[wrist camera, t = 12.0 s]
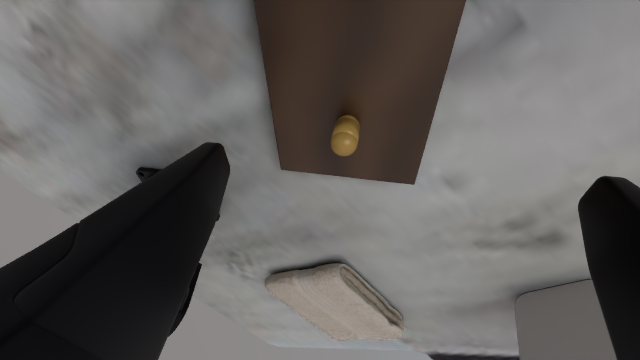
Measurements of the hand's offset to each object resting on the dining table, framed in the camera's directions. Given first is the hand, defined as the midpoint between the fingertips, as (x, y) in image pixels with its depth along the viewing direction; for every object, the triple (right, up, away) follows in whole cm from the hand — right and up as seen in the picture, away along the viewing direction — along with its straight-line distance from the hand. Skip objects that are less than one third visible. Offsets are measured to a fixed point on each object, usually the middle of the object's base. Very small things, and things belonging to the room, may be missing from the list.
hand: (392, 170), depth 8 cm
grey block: (+24, -13, +25) cm, 37 cm away
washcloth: (+1, -16, +34) cm, 38 cm away
